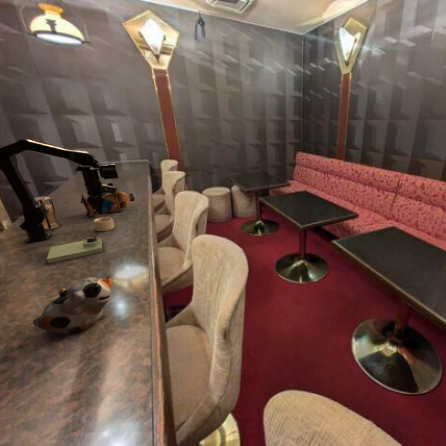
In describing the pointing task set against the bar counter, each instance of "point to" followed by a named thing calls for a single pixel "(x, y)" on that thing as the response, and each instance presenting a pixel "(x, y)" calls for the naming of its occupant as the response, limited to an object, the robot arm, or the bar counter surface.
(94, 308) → the lucky cat figurine
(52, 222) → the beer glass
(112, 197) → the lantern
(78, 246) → the scale
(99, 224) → the bowl
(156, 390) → the bar counter surface
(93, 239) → the tare button
